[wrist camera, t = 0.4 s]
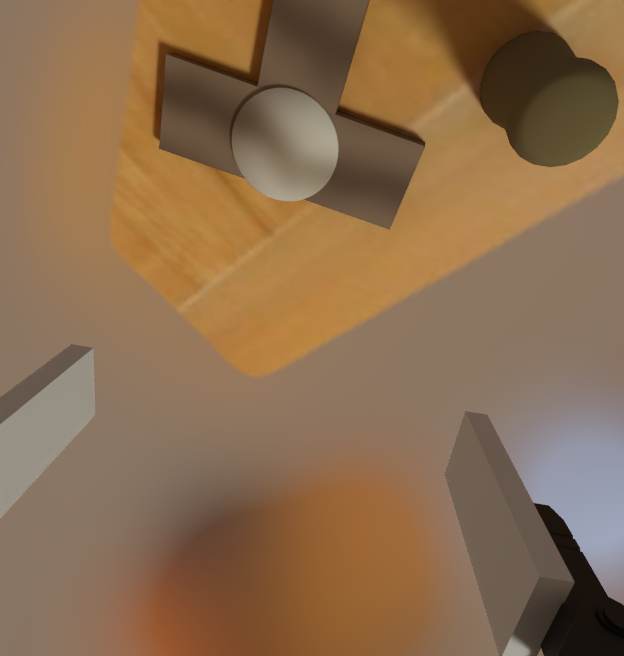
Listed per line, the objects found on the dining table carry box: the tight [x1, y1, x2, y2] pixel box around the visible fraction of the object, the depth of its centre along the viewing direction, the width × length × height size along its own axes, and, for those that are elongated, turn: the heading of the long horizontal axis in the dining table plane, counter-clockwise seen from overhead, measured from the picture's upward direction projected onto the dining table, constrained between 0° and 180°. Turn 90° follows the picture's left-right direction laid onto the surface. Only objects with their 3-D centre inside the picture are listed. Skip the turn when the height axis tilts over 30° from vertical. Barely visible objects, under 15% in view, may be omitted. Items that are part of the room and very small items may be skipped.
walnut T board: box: [159, 0, 425, 229], centre depth 34 cm, size 18×20×1 cm
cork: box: [481, 31, 619, 167], centre depth 27 cm, size 6×6×11 cm
